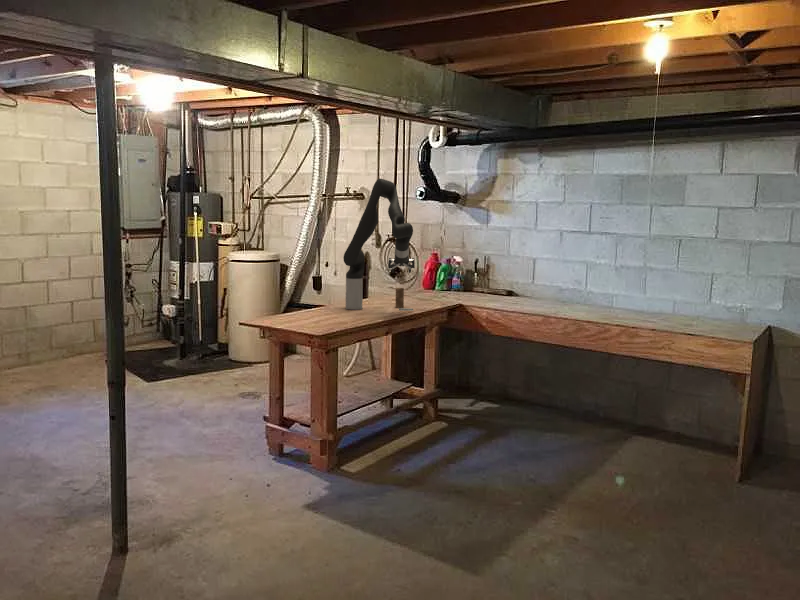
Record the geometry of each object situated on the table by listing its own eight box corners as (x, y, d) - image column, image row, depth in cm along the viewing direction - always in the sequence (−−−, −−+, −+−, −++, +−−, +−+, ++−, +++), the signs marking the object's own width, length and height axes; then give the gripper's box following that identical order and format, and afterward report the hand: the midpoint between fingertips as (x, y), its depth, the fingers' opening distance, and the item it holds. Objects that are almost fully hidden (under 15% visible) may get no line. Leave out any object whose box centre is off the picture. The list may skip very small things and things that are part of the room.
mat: (399, 310, 368) (399, 310, 368) (398, 308, 376) (398, 308, 376) (413, 310, 369) (413, 310, 369) (412, 308, 377) (412, 308, 377)
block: (395, 307, 378) (395, 288, 377) (395, 306, 383) (395, 287, 381) (403, 308, 378) (403, 288, 377) (403, 306, 383) (403, 287, 381)
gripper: (415, 246, 354) (414, 266, 367) (388, 246, 354) (388, 266, 366) (415, 257, 349) (414, 277, 362) (388, 257, 349) (388, 277, 362)
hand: (401, 271), depth 364 cm, fingers open, 8 cm apart
